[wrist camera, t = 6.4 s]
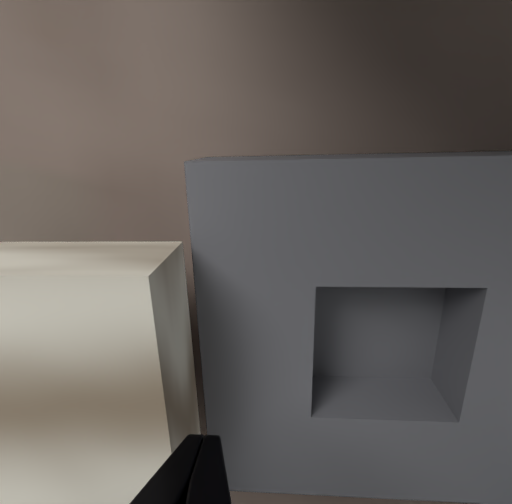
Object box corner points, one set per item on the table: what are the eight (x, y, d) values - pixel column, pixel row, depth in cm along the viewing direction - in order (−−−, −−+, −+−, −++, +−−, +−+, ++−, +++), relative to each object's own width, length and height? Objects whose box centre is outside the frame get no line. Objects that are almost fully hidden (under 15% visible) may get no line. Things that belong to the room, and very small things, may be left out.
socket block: (496, 436, 17) (548, 507, 14) (224, 426, 18) (212, 489, 15) (569, 149, 13) (672, 152, 9) (207, 157, 14) (184, 161, 10)
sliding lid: (202, 452, 14) (181, 533, 11) (-5, 443, 14) (-75, 517, 11) (182, 241, 11) (148, 276, 8) (-74, 242, 12) (-189, 274, 9)
